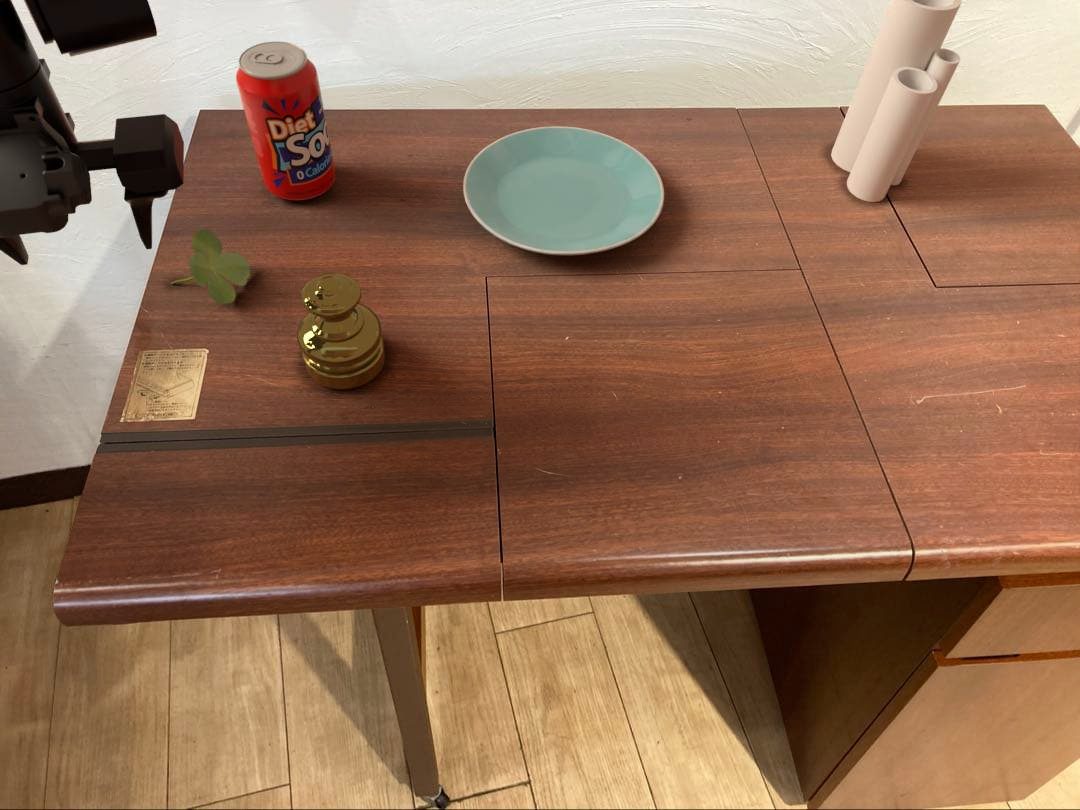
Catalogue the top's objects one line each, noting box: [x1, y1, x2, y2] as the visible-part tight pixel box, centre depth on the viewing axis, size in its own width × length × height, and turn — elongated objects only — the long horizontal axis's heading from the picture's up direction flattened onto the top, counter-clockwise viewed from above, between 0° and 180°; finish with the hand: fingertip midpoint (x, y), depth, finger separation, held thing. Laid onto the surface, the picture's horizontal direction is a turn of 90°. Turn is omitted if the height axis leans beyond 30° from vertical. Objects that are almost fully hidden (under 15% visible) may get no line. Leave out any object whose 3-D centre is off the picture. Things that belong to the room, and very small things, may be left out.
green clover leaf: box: [170, 229, 251, 305], centre depth 80 cm, size 7×8×7 cm
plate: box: [462, 125, 665, 256], centre depth 90 cm, size 22×22×3 cm
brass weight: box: [296, 272, 386, 390], centre depth 72 cm, size 7×7×10 cm
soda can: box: [235, 41, 336, 201], centre depth 85 cm, size 8×8×15 cm
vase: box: [830, 0, 962, 203], centre depth 90 cm, size 11×7×20 cm, turn 8°
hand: (88, 253), depth 64 cm, fingers open, 9 cm apart
